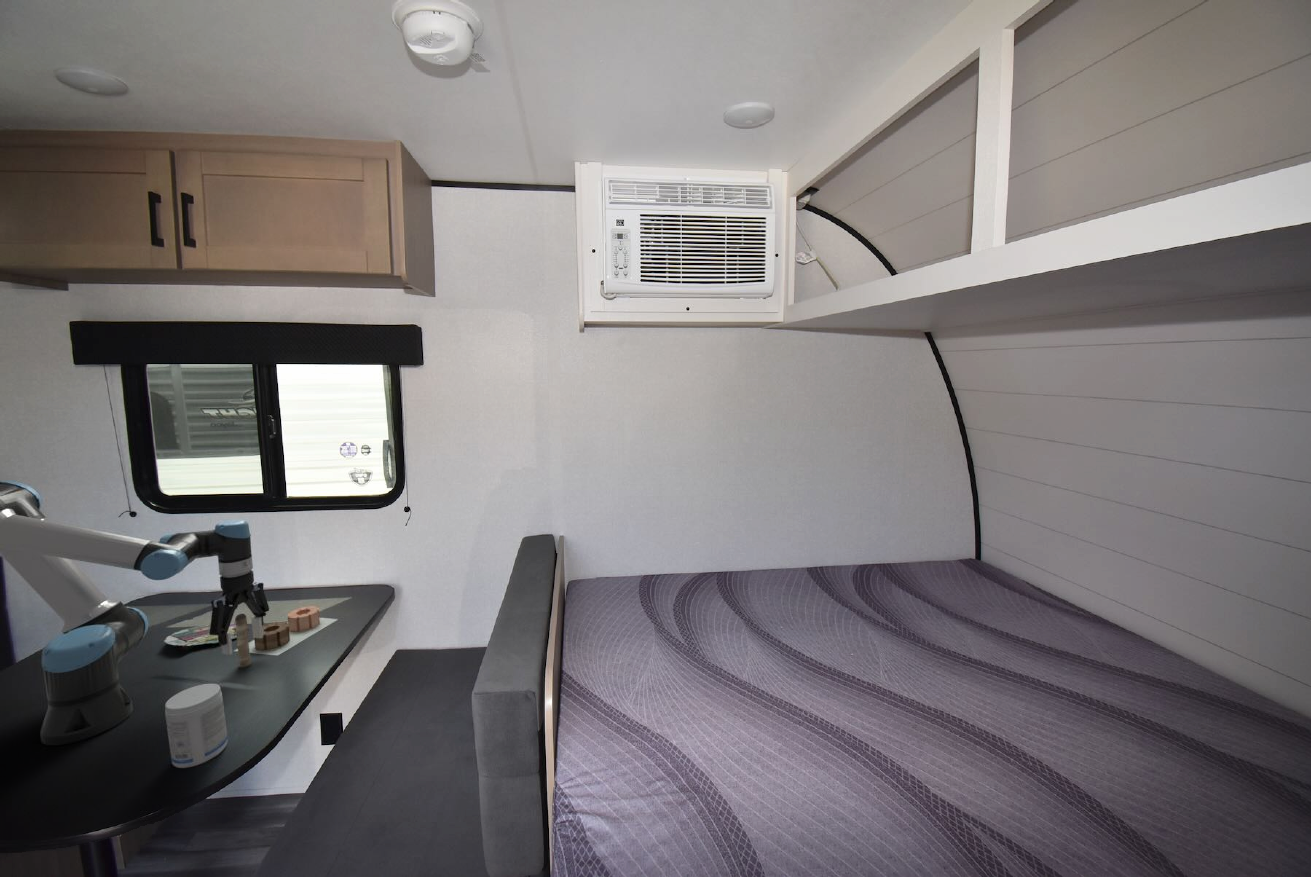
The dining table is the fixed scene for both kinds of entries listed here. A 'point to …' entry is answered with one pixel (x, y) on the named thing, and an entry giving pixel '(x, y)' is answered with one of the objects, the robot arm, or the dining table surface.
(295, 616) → the terracotta bead
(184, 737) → the supplement tub
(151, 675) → the dining table surface
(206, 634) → the city model
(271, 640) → the walnut bead
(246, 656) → the wooden dowel rod
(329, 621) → the board
